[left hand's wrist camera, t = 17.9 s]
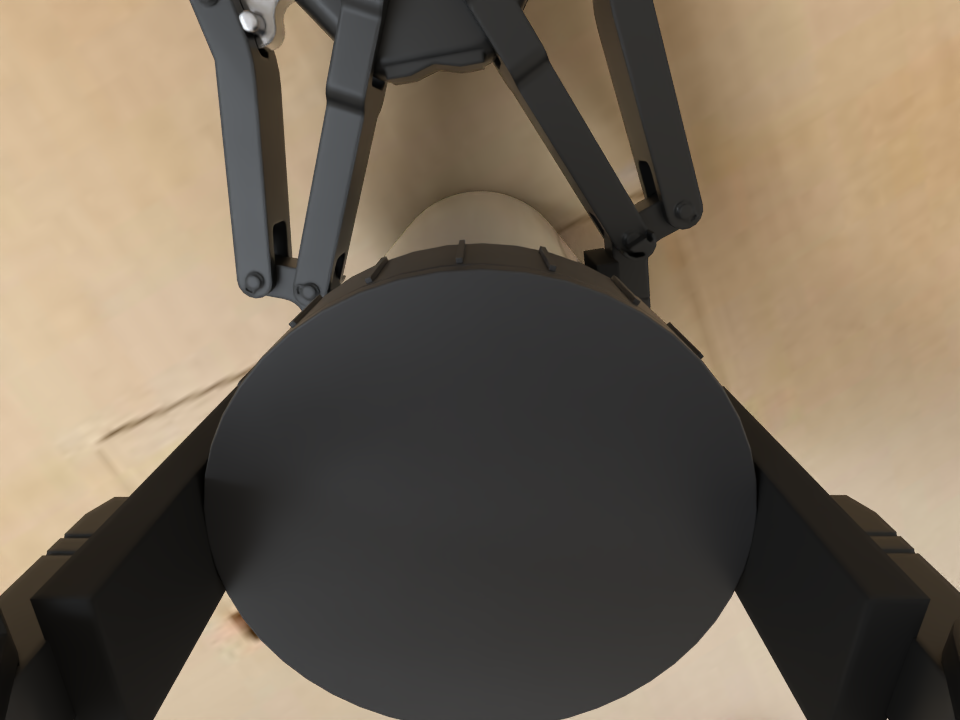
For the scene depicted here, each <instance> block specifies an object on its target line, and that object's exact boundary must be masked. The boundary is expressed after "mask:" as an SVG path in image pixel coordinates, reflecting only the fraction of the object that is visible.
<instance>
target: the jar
mask: <svg viewBox="0 0 960 720" xmlns="http://www.w3.org/2000/svg"><path fill="white" fill-rule="evenodd" d="M459 240H465V244H475V243H489V244H502V245H516V246H521V247H526V248H531V249H536V250H539V248H540V246H543V247H546V249H547V251H548V252H550V253H553V254H556V255H559V256H562V257H565V258H567V259H570V260H573V261H576V262H579V263H581V262H580V261H579V259H578V258H577V257H576V256H575V254H574V253H573V252H572V251H571V249H570V248H569V247H568V246H567V244H566V243H565V242H564V241H563V239H562V238H561V237H560V236H559V234H558V233H557V232H556V231H555V229H554V228H553V227H552V226H551V224H550V223H549V222H548V221H547V220H546V219H545V218H544V217H543V216H542V215H541V214H540V213H539V212H538V211H536V210H535V209H534V208H532V207H531V206H530V205H528V204H526V203H524V202H523V201H521V200H519V199H516V198H514V197H511V196H509V195H505V194H501V193H497V192H489V191H470V192H464V193H459V194H455V195H452V196H449V197H446V198H444V199H442V200H440V201H438V202H436V203H434V204H433V205H431V206H430V207H428V208H427V209H425V210H424V211H423V212H422V213H421V214H419V215H418V216H417V217H416V218H415V219H414V220H413V222H412V223H411V224H410V225H409V226H408V227H407V229H406V230H405V231H404V232H403V234H402V235H401V236H400V237H399V239H398V240H397V241H396V242H395V244H394V245H393V246H392V247H391V249H390V250H389V251H388V252H387V254H386V255H385V256H384V257H387V259H388V260H390V259H393V258H396V257H399V256H402V255H405V254H408V253H411V252H414V251H419V250H425V249H430V248H435V247H440V246H445V245H457V244H459Z"/></svg>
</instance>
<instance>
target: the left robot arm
mask: <svg viewBox="0 0 960 720" xmlns="http://www.w3.org/2000/svg"><path fill="white" fill-rule="evenodd" d="M238 387H239V386H237V387H236V388H235V389H234V390H233V391H232V392H231V393H230V394H229V395H228V396H227V397H226V398H225V399H224V400H223V401H222V402H221V403H220V404H219V405H218V406H217V407H216V408H215V409H214V410H213V411H212V412H211V413H210V414H209V415H208V416H207V417H206V418H205V419H204V420H203V421H202V422H201V424H200V425H199V426H198V427H197V428H196V429H195V430H194V431H193V432H192V433H191V434H190V435H189V436H188V437H187V438H186V439H185V440H184V441H183V442H182V443H181V444H180V445H179V446H178V447H177V448H176V449H175V450H174V451H173V452H172V453H171V454H170V455H169V456H168V457H167V458H166V459H165V461H164V462H163V463H162V464H161V465H160V466H159V467H158V468H157V469H156V470H155V471H154V472H153V473H152V474H151V475H150V476H149V477H148V478H147V479H146V480H145V481H144V482H143V483H142V484H141V485H140V486H139V487H138V488H137V489H136V490H135V491H134V492H133V493H132V494H131V495H130V496H129V497H114V498H112V499H110V500H109V501H107V502H105V503H104V504H102V505H100V506H99V507H97V508H95V509H93V510H92V511H90V512H88V513H87V514H85V515H84V516H83V517H82V518H81V519H80V520H79V521H78V522H77V523H76V524H75V525H74V526H73V527H72V528H71V529H70V530H69V531H67V532H66V533H65V537H64V538H60V539H59V540H58V541H57V542H56V543H55V544H54V545H53V546H52V547H51V548H50V549H49V550H48V551H47V555H46V556H41V557H40V558H39V559H38V560H37V561H36V562H35V563H34V564H33V565H32V566H31V567H30V568H29V569H28V570H27V571H26V572H25V573H24V574H23V575H22V576H21V577H19V578H18V579H17V580H16V581H15V582H14V583H13V584H12V585H11V586H10V587H9V588H8V589H7V590H6V591H5V592H4V593H3V594H2V595H1V596H0V720H153V719H154V718H155V716H156V714H157V712H158V710H159V709H160V707H161V705H162V703H163V702H164V700H165V698H166V696H167V694H168V693H169V691H170V689H171V687H172V685H173V684H174V682H175V680H176V678H177V677H178V675H179V673H180V671H181V669H182V668H183V666H184V664H185V662H186V660H187V659H188V657H189V655H190V653H191V652H192V650H193V648H194V646H195V644H196V643H197V641H198V639H199V637H200V635H201V634H202V632H203V630H204V628H205V627H206V625H207V623H208V621H209V619H210V618H211V616H212V614H213V612H214V610H215V609H216V607H217V605H218V603H219V601H220V600H221V598H222V596H223V594H224V593H225V591H226V589H225V587H224V585H223V583H222V580H221V578H220V576H219V574H218V572H217V569H216V567H215V564H214V560H213V557H212V553H211V550H210V545H209V541H208V536H207V531H206V525H205V516H204V508H203V507H204V481H205V472H206V467H207V462H208V457H209V452H210V447H211V444H212V441H213V438H214V436H215V433H216V430H217V428H218V425H219V422H220V420H221V417H222V414H223V413H224V411H225V409H226V407H227V406H228V404H229V402H230V401H231V399H232V397H233V395H234V394H235V392H236V390H237V388H238ZM722 387H723V388H724V390H725V392H726V394H727V396H728V397H729V399H730V401H731V403H732V405H733V407H734V408H735V410H736V412H737V414H738V416H739V417H740V420H741V423H742V426H743V428H744V431H745V434H746V437H747V440H748V442H749V445H750V448H751V453H752V458H753V464H754V469H755V475H756V482H757V515H756V523H755V529H754V534H753V539H752V544H751V548H750V552H749V556H748V559H747V562H746V566H745V569H744V571H743V574H742V576H741V578H740V580H739V582H738V584H737V586H736V588H735V592H736V594H737V596H738V597H739V599H740V601H741V603H742V604H743V606H744V608H745V610H746V612H747V613H748V615H749V617H750V619H751V621H752V622H753V624H754V626H755V628H756V629H757V631H758V633H759V635H760V637H761V638H762V640H763V642H764V644H765V646H766V647H767V649H768V651H769V653H770V654H771V656H772V658H773V660H774V662H775V663H776V665H777V667H778V669H779V671H780V672H781V674H782V676H783V678H784V679H785V681H786V683H787V685H788V687H789V688H790V690H791V692H792V694H793V696H794V697H795V699H796V701H797V703H798V704H799V706H800V708H801V710H802V712H803V713H804V715H805V717H806V719H807V720H887V718H888V719H889V720H960V592H959V591H958V590H957V589H956V588H954V587H953V586H952V585H951V584H950V583H949V582H948V581H947V580H946V579H945V578H944V577H943V576H942V575H941V574H940V573H939V572H938V571H937V570H936V569H935V568H933V567H932V566H931V565H930V564H929V563H928V562H927V561H926V560H925V559H924V558H923V557H922V556H921V555H920V554H915V552H914V548H912V547H911V546H910V545H909V544H908V543H907V542H906V541H905V540H904V539H903V538H902V537H901V536H897V534H896V533H897V532H896V531H895V530H894V529H892V528H891V527H890V526H889V525H888V524H887V523H886V522H885V521H884V520H883V519H882V518H881V517H880V516H879V515H878V514H877V513H876V512H874V511H872V510H871V509H869V508H867V507H866V506H864V505H862V504H860V503H859V502H857V501H855V500H854V499H852V498H850V497H849V496H847V495H829V494H828V493H827V492H826V491H825V490H824V489H823V488H822V487H821V486H820V485H819V484H818V483H817V482H816V481H815V480H814V479H813V478H812V477H811V476H810V475H809V473H808V472H807V471H806V470H805V469H804V468H803V467H802V466H801V465H800V464H799V463H798V462H797V461H796V460H795V459H794V458H793V457H792V456H791V455H790V454H789V453H788V452H787V451H786V450H785V449H784V448H783V447H782V446H781V445H780V444H779V443H778V442H777V441H776V440H775V439H774V438H773V436H772V435H771V434H770V433H769V432H768V431H767V430H766V429H765V428H764V427H763V426H762V425H761V424H760V423H759V422H758V421H757V420H756V419H755V418H754V417H753V416H752V415H751V414H750V413H749V412H748V411H747V410H746V409H745V408H744V407H743V406H742V405H741V404H740V403H739V402H738V401H737V399H736V398H735V397H734V396H733V395H732V394H731V393H730V392H729V391H728V390H727V389H726V388H725V387H724V386H722Z"/></svg>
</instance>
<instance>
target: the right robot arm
mask: <svg viewBox="0 0 960 720" xmlns="http://www.w3.org/2000/svg"><path fill="white" fill-rule="evenodd" d="M295 1H296V2H297V3H298V5H299V6H300V7H301V8H302V9H303V10H304V11H305V12H306V13H307V14H308V15H309V16H310V17H311V18H312V19H313V20H314V21H315V22H316V23H317V24H318V25H319V26H320V27H321V28H322V29H323V30H324V31H325V32H326V33H327V34H328V36H329V37H330V38H331V39H332V40H333V41H334V45H333V50H332V56H331V61H330V67H329V72H328V78H327V84H326V99H327V105H326V111H325V117H324V122H323V127H322V133H321V138H320V143H319V149H318V154H317V159H316V165H315V170H314V176H313V181H312V186H311V192H310V197H309V202H308V208H307V213H306V218H305V224H304V229H303V234H302V240H301V245H300V250H299V256H298V259H297V258H292V247H291V232H290V216H289V201H288V186H287V171H286V155H285V140H284V125H283V110H282V94H281V83H280V74H279V69H278V64H277V60H276V56H275V53H274V50H276V49H277V48H279V47H280V46H281V45H282V43H283V41H284V37H285V29H284V21H283V20H284V14H285V11H286V9H287V8H288V7H289V5H290V4H292V3H294V2H295ZM527 1H528V0H190V3H191V5H192V7H193V10H194V12H195V15H196V17H197V19H198V22H199V24H200V26H201V29H202V31H203V34H204V36H205V38H206V41H207V43H208V45H209V48H210V50H211V52H212V55H213V57H214V60H215V67H216V77H217V87H218V97H219V107H220V116H221V126H222V136H223V146H224V156H225V165H226V175H227V185H228V195H229V205H230V214H231V224H232V234H233V244H234V253H235V263H236V273H237V281H238V285H239V287H240V289H241V290H242V291H243V293H245V294H246V295H248V296H249V297H253V298H261V297H264V296H271V297H276V298H282V299H286V300H290V301H292V302H293V303H295V304H296V305H297V306H298V307H299V308H300V309H301V310H303V309H305V308H306V307H307V306H308V305H309V304H310V303H311V302H312V301H313V300H314V299H315V298H316V297H317V296H318V295H319V294H320V295H321V296H322V297H324V296H325V295H326V294H328V293H329V292H331V291H332V290H334V289H335V288H337V287H338V286H339V285H341V283H342V282H343V281H344V279H345V277H346V276H344V275H343V273H344V268H345V264H346V259H347V254H348V250H349V245H350V241H351V236H352V231H353V227H354V222H355V218H356V213H357V208H358V204H359V199H360V195H361V190H362V186H363V181H364V176H365V172H366V167H367V163H368V158H369V153H370V149H371V144H372V140H373V135H374V131H375V126H376V121H377V118H378V115H379V113H380V111H381V108H382V104H383V100H384V96H385V91H386V87H387V82H389V83H393V84H394V85H400V84H406V83H412V82H417V81H419V80H421V79H423V78H425V77H427V76H429V75H431V74H433V73H435V72H437V71H447V72H456V73H467V72H472V71H478V70H483V69H484V66H486V65H488V64H490V63H491V62H493V64H494V65H495V67H496V69H497V70H498V72H499V73H500V75H501V77H502V78H503V80H504V81H505V83H506V84H507V86H508V87H509V89H510V90H511V91H512V92H513V94H514V95H515V97H516V99H517V100H518V102H519V103H520V105H521V107H522V108H523V110H524V111H525V113H526V115H527V116H528V118H529V119H530V121H531V123H532V124H533V126H534V128H535V129H536V131H537V132H538V134H539V136H540V137H541V139H542V140H543V142H544V144H545V145H546V147H547V148H548V150H549V152H550V153H551V155H552V156H553V158H554V160H555V161H556V163H557V164H558V166H559V168H560V169H561V171H562V172H563V174H564V176H565V177H566V179H567V181H568V182H569V184H570V185H571V187H572V189H573V190H574V192H575V193H576V195H577V197H578V198H579V200H580V201H581V203H582V205H583V206H584V208H585V209H586V211H587V213H588V214H589V216H590V217H591V219H592V221H593V222H594V224H595V226H596V227H597V229H598V230H599V232H600V234H601V235H602V237H603V238H604V243H605V249H603V248H600V249H594V250H588V251H584V261H585V265H586V266H588V267H590V268H592V269H594V270H596V271H597V272H599V273H601V274H603V275H605V276H607V277H609V278H611V277H612V276H613V275H614V276H616V277H618V279H619V280H620V281H621V282H622V283H623V284H624V285H625V286H626V287H627V288H628V289H629V290H630V291H631V292H632V293H633V294H634V295H635V296H637V297H638V298H639V299H640V300H641V301H643V302H644V303H645V304H646V305H647V306H648V307H649V308H650V291H649V273H648V257H649V256H650V255H651V254H652V253H653V252H654V249H655V247H656V242H657V241H659V240H660V239H661V238H663V237H665V236H667V235H669V234H671V233H673V232H675V231H676V230H678V229H688V228H691V227H692V226H694V225H696V223H697V222H698V221H699V220H700V219H701V216H702V213H703V204H702V200H701V196H700V192H699V187H698V183H697V179H696V175H695V171H694V167H693V163H692V159H691V155H690V151H689V147H688V143H687V138H686V134H685V130H684V126H683V122H682V118H681V114H680V110H679V106H678V102H677V98H676V94H675V89H674V85H673V81H672V77H671V73H670V69H669V65H668V61H667V57H666V53H665V49H664V45H663V40H662V36H661V32H660V28H659V24H658V20H657V16H656V12H655V8H654V4H653V0H593V7H594V15H595V20H596V24H597V29H598V32H599V36H600V39H601V43H602V47H603V50H604V54H605V57H606V61H607V65H608V68H609V72H610V75H611V79H612V82H613V86H614V90H615V93H616V97H617V100H618V104H619V107H620V111H621V115H622V118H623V122H624V125H625V129H626V133H627V136H628V140H629V143H630V147H631V150H632V154H633V158H634V161H635V165H636V168H637V172H638V175H639V179H640V183H641V186H642V190H643V193H644V197H645V199H644V200H642V201H640V202H638V203H637V204H635V205H634V204H633V203H632V201H631V199H630V197H629V196H628V194H627V192H626V191H625V189H624V187H623V186H622V184H621V182H620V181H619V179H618V177H617V175H616V174H615V172H614V170H613V169H612V167H611V165H610V164H609V162H608V160H607V159H606V157H605V155H604V153H603V152H602V150H601V148H600V147H599V145H598V143H597V142H596V140H595V138H594V137H593V135H592V133H591V131H590V130H589V128H588V126H587V125H586V123H585V121H584V120H583V118H582V116H581V115H580V113H579V111H578V109H577V108H576V106H575V104H574V103H573V101H572V99H571V98H570V96H569V94H568V93H567V91H566V89H565V87H564V86H563V84H562V82H561V81H560V79H559V77H558V76H557V74H556V72H555V71H554V69H553V67H552V65H551V64H550V61H549V59H548V56H547V53H546V51H545V49H544V47H543V45H542V43H541V42H540V40H539V38H538V36H537V35H536V33H535V31H534V30H533V28H532V26H531V25H530V23H529V21H528V20H527V18H526V16H525V14H524V13H523V10H524V7H525V5H526V3H527Z"/></svg>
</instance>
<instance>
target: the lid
mask: <svg viewBox="0 0 960 720" xmlns="http://www.w3.org/2000/svg"><path fill="white" fill-rule="evenodd" d="M289 325H290V326H291V328H290V329H289V330H288V331H287V332H286V333H285V334H284V335H283V336H282V337H281V338H280V339H279V340H278V341H277V342H276V343H275V344H274V345H273V346H272V347H271V348H270V349H269V350H268V351H267V352H266V353H265V354H264V355H263V356H262V358H261V359H260V360H259V361H258V362H257V364H256V365H255V366H254V367H253V368H252V369H251V370H250V371H249V372H248V373H247V374H246V375H245V376H244V377H243V378H242V379H241V380H240V381H239V383H238V385H237V386H239V387H238V388H237V390H236V392H235V394H234V395H233V397H232V399H231V401H230V402H229V404H228V406H227V407H226V409H225V411H224V413H223V414H222V417H221V420H220V422H219V425H218V428H217V430H216V433H215V436H214V438H213V441H212V444H211V447H210V452H209V457H208V462H207V467H206V472H205V481H204V507H203V508H204V516H205V525H206V531H207V536H208V541H209V545H210V550H211V553H212V557H213V560H214V564H215V567H216V569H217V572H218V574H219V576H220V578H221V580H222V583H223V585H224V587H225V589H226V592H227V594H228V595H229V597H230V598H231V600H232V602H233V603H234V605H235V606H236V608H237V610H238V611H239V613H240V614H241V616H242V618H243V619H244V620H245V621H246V623H247V624H248V625H249V626H250V627H251V629H252V630H253V631H254V632H255V633H256V635H257V636H258V637H259V638H260V640H261V641H262V642H263V643H264V644H265V645H266V646H268V647H269V648H270V649H271V650H272V651H273V652H274V653H275V654H276V655H277V656H278V657H279V658H280V659H281V660H282V661H283V662H285V663H286V664H287V665H289V666H290V667H291V668H293V669H294V670H295V671H297V672H298V673H299V674H301V675H302V676H303V677H305V678H306V679H308V680H309V681H311V682H313V683H314V684H316V685H318V686H319V687H321V688H323V689H324V690H326V691H328V692H330V693H331V694H333V695H335V696H337V697H340V698H342V699H344V700H346V701H348V702H350V703H353V704H355V705H357V706H359V707H362V708H365V709H368V710H370V711H373V712H376V713H379V714H382V715H385V716H388V717H392V718H396V719H400V720H561V719H566V718H569V717H572V716H576V715H579V714H582V713H585V712H588V711H591V710H594V709H597V708H599V707H601V706H604V705H606V704H608V703H610V702H613V701H615V700H617V699H619V698H622V697H624V696H626V695H627V694H629V693H631V692H633V691H634V690H636V689H638V688H640V687H641V686H643V685H645V684H647V683H648V682H650V681H652V680H653V679H654V678H656V677H657V676H658V675H660V674H661V673H663V672H664V671H665V670H667V669H668V668H669V667H671V666H672V665H674V664H675V663H676V662H677V661H678V660H679V659H680V658H681V657H683V656H684V655H685V654H686V653H687V652H688V651H689V650H690V649H691V648H692V647H693V646H694V645H696V644H697V642H698V641H699V640H700V639H701V638H702V637H703V635H704V634H705V633H706V632H707V631H708V630H709V628H710V627H711V626H712V625H713V624H714V623H715V621H716V620H717V618H718V617H719V615H720V614H721V612H722V611H723V609H724V608H725V606H726V605H727V603H728V601H729V600H730V598H731V597H732V595H733V593H734V591H735V588H736V586H737V584H738V582H739V580H740V578H741V576H742V574H743V571H744V569H745V566H746V562H747V559H748V556H749V552H750V548H751V544H752V539H753V534H754V529H755V523H756V515H757V482H756V475H755V469H754V464H753V458H752V453H751V448H750V445H749V442H748V440H747V437H746V434H745V431H744V428H743V426H742V423H741V420H740V417H739V416H738V414H737V412H736V410H735V408H734V407H733V405H732V403H731V401H730V399H729V397H728V396H727V394H726V392H725V390H724V388H723V387H722V386H721V384H720V383H719V382H718V381H717V379H716V378H715V377H714V375H713V374H712V373H711V372H710V370H709V369H708V368H707V366H706V365H705V364H704V363H703V361H702V360H701V359H702V358H703V357H704V356H703V355H702V354H701V352H699V351H698V350H697V349H696V348H695V347H694V346H693V345H692V344H691V343H690V342H689V341H688V340H687V339H686V338H685V337H684V336H683V335H682V334H681V333H680V332H679V331H678V330H677V329H676V328H675V327H674V326H673V325H672V324H671V323H670V322H669V323H668V324H667V325H666V324H665V323H664V322H663V321H662V320H661V319H660V318H659V317H658V316H657V315H656V314H655V313H654V312H653V311H652V310H651V309H650V308H649V307H648V306H647V305H646V304H645V303H644V302H643V301H641V300H640V299H639V298H638V297H637V296H635V295H634V294H633V293H632V292H631V291H630V290H629V289H628V288H627V287H626V286H625V285H624V284H623V283H622V282H621V281H620V280H619V279H618V277H616V276H614V275H613V276H612V277H611V278H609V277H607V276H605V275H603V274H601V273H599V272H597V271H596V270H594V269H592V268H590V267H588V266H586V265H584V264H582V263H579V262H576V261H573V260H570V259H567V258H565V257H562V256H559V255H556V254H553V253H550V252H548V251H547V249H546V247H543V246H540V248H539V250H536V249H531V248H526V247H521V246H516V245H502V244H489V243H475V244H465V240H459V244H457V245H445V246H440V247H435V248H430V249H425V250H419V251H414V252H411V253H408V254H405V255H402V256H399V257H396V258H393V259H390V260H388V259H387V257H383V258H381V259H380V260H379V262H378V263H377V264H376V265H375V266H373V267H371V268H369V269H367V270H365V271H363V272H361V273H359V274H357V275H355V276H353V277H351V278H350V279H348V280H347V281H345V282H344V283H342V284H341V285H339V286H338V287H337V288H335V289H334V290H332V291H331V292H329V293H328V294H326V295H325V296H324V297H322V296H321V295H320V294H319V295H318V296H317V297H316V298H315V299H314V300H313V301H312V302H311V303H310V304H309V305H308V306H307V307H306V308H305V309H303V310H302V311H301V312H300V313H299V314H298V315H297V316H296V317H295V318H294V319H293V320H292V321H291V322H290V323H289Z"/></svg>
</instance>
